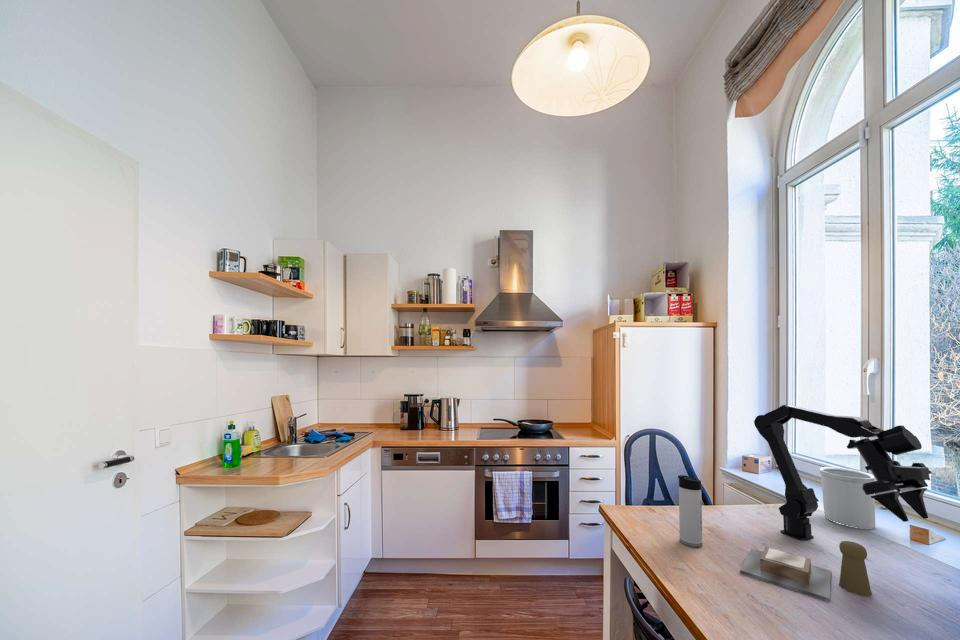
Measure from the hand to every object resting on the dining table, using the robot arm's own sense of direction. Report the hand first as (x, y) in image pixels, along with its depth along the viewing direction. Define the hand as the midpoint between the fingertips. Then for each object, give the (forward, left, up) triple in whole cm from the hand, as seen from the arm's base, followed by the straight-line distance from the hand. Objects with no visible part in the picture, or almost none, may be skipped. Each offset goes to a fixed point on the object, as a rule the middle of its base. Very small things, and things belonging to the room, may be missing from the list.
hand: (916, 519), depth 108 cm
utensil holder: (-32, +30, -16) cm, 47 cm away
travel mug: (-34, -42, -16) cm, 56 cm away
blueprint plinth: (-13, -31, -15) cm, 37 cm away
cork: (-3, -22, -16) cm, 27 cm away
